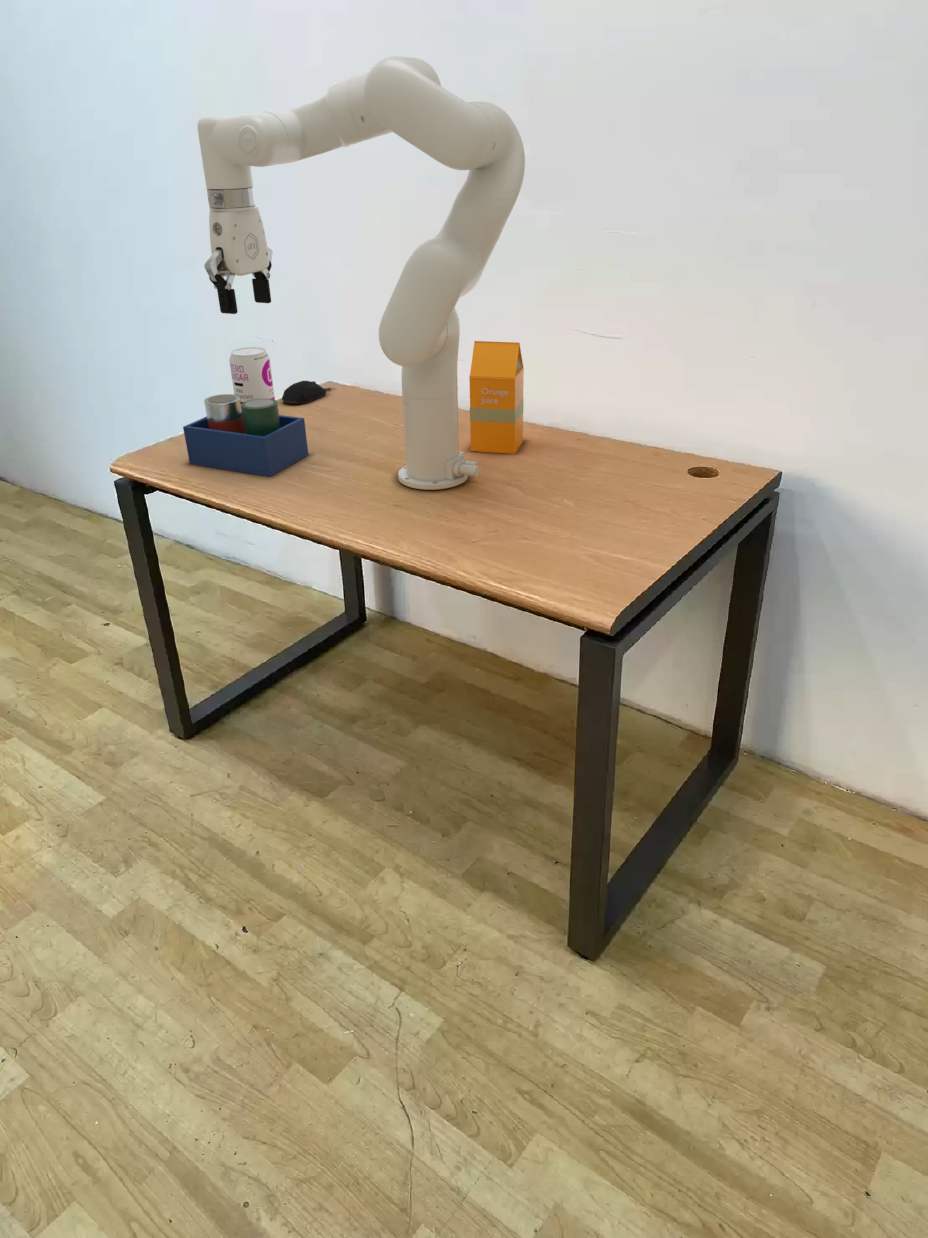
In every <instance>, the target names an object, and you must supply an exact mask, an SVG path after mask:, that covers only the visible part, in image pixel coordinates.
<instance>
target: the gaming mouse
mask: <svg viewBox="0 0 928 1238" xmlns="http://www.w3.org/2000/svg"><path fill="white" fill-rule="evenodd" d="M329 390H331V387H327V388H326V387H324V388H323V386H321V385H319V384H318V383H317V382H316V381H315V380H314V381H309V380H301V381H298V382H295V383H293V384H291V385H289V386H288V387H287V388H286V389H285V390H284V391H283V394H282V396H281V397H282V398H281V400H282V401H283V402H284V403H287V404H290V405H291V404H292V405H303V404H307V403H310V402H313V401H315V400H317V399H319V398H322V397H324V396H325V395H326V394H327V391H329Z"/></svg>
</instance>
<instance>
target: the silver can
mask: <svg viewBox="0 0 928 1238" xmlns="http://www.w3.org/2000/svg"><path fill="white" fill-rule="evenodd" d="M203 403H204V409H205V414H206V416H207V421H208V427H209V429H213V430H220V431H228V432H235V433H242V434H245V429H244V422H243V416H242V409H241V400H240V397H239V396H237V395H234V393H233V394H231V393H222V394H215V395H211V396H208V397H206V398H204V401H203Z"/></svg>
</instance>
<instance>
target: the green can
mask: <svg viewBox="0 0 928 1238" xmlns="http://www.w3.org/2000/svg"><path fill="white" fill-rule="evenodd" d="M241 409H242V416H243V422H244V429H245V434H249V435H257V436H266V435H268V434H270V433H272V432H274V431H276V430H278V429H280V428H281V427H280V419H279V415H280V411H279V403H278V401H277V400H276V399H275V400H273V399H253V400H249V401H246V402H244V403H242V404H241Z"/></svg>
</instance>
